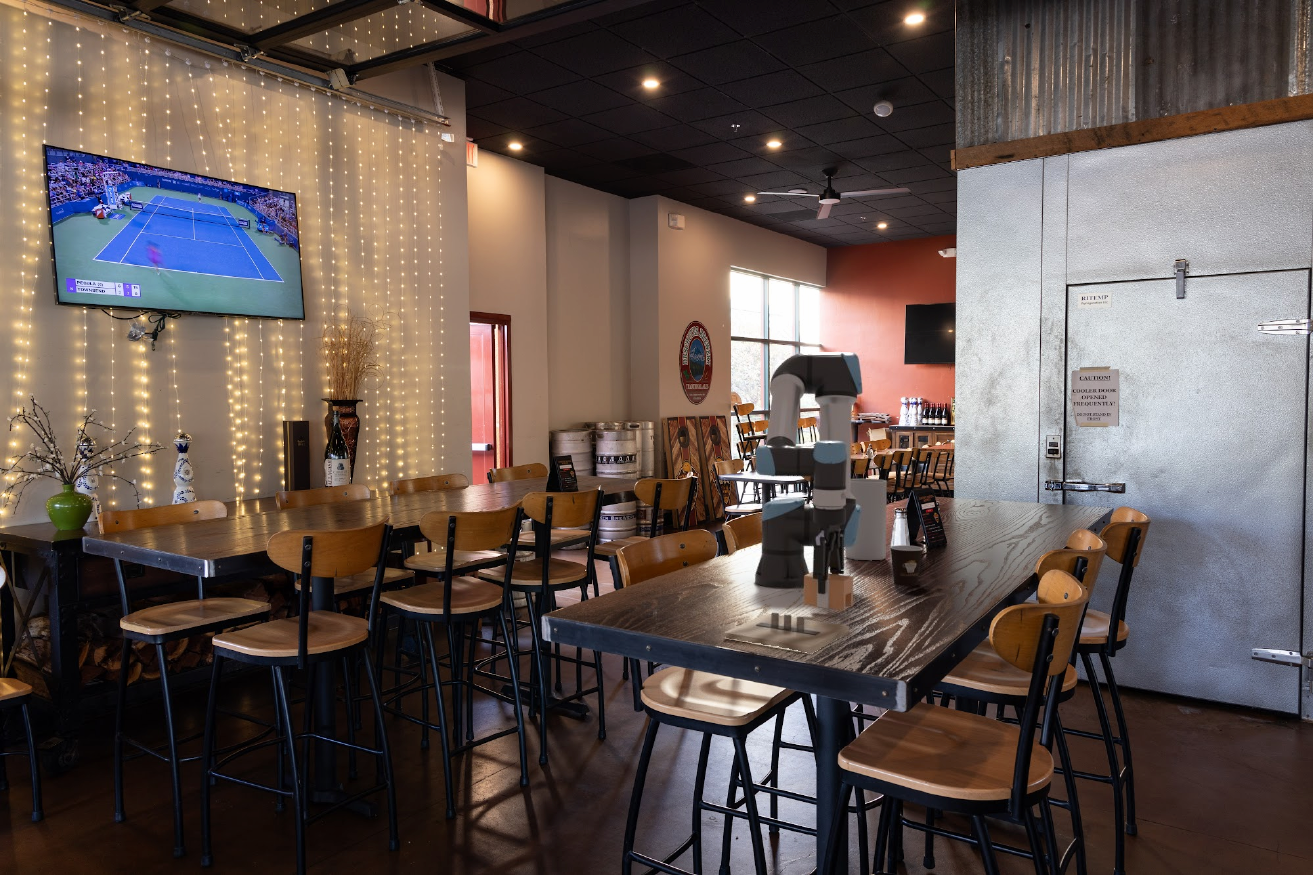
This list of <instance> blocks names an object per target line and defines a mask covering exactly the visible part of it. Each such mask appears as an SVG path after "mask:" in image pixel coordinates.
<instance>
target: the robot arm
mask: <svg viewBox="0 0 1313 875" xmlns="http://www.w3.org/2000/svg"><path fill="white" fill-rule="evenodd" d="M861 372H862V371H861V365H860V359H859V356H858V355H857V353H854V352H847V351H846V352H844V351H831V352H830V351H829V352H826V351H825V352H824V351H823V352H808V351H807V352H800V353H796V354H794V355H791V356H790V357H788V358H787V359H785V360H784V361H783V362H781V363H780V365H779V366H778V367H777V368H776V369H775V371H774V372H773V375H772V376H771V379H770V382H769V392H770V395H771V403H770V412H769V419H768V427H767V434H766V440H765V441H766V442H765V444H764V445H758V446H757V448H756V449H755V462H754V463H755V464H754V465H755V471H756V473H757V475H760V476H768V477H770V476H771V477H804V478H805V477H807V478H808V477H810V478H811V477H812V478H813V493H812V494H813V495H812V503H806V500H805V499H804V498H802V497H792V498H791V497H790V498H789V497H788V498H782V499H775V500H770V501H768V502H765V503H764V505H762V509H761V510H762V515H761V519H760V521H761V555H760V559H759V562H758V565H757V568H756V570H755V574H754V583H755V584H757V585H760V586H762V587H767V588H776V589H778V588H779V589H796V588H797V589H798V588H804V576H805V575H807V574H809V573H810V572H809V571H810V570H809V567H808V564H807V562H806V558H805V547H813V554H812V555H813V558H812V572H813V579H817V607H816V608H821V607H824V608H823V609H827V608H829V580H827V579H828V573H829V574H837V575H845V570H844V569H845V548H846V547H853V546H854V545H855V543H856V539H857V533H858V526H859V519H860V512H861V506H860V505H856V498H855V497H854V496H853V495H852V494H851V492H850V479H852V478H851V476H852V475H851V469H852V467H851V466H852V465H851V464H852V462H851V461H852V459H851V458H852V454H851V453H852V407H853V405H854V404H856V403H857V401H858V396H859V395H861V394H863V382H862V381H863V380H862V379H863V378H862V373H861ZM804 394H805V395H806V394H807V395H814V401H815V402H816V403H817V404H818V405H819V440H818V441H816V442H815V443H814V445H811V446H810V445H808V446H807V445H797V436H798V425H799V413H800V406H801V405H800V403H801V399H802V398H803V396H804Z"/></svg>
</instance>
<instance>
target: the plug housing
mask: <svg viewBox="0 0 1313 875" xmlns="http://www.w3.org/2000/svg"><path fill="white" fill-rule="evenodd" d="M827 580H829V608H826V609H829V610H833V611H834V610H835V611H841V612H845V611H846V607H850V608H852V607H853V606H854V576H850V575H845V574H839V575H837V574H832V573H830V572H828V579H827ZM803 605H804V606H809V607H815V608H818V607H817V579H813V571H811V572H809V574H807V575H805V576H804V587H803ZM820 608H822V609H825V608H824V607H820Z"/></svg>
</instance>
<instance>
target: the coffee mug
mask: <svg viewBox="0 0 1313 875" xmlns="http://www.w3.org/2000/svg"><path fill="white" fill-rule="evenodd" d="M889 549H890V556H891V558H890V559H891V567H892V578H893V584H894V585H896V586H901V587H916V586H918V585H919V579H920V575H921V574H922V573H924V572H925V571H927V570H929V568H931V566H932V565H933V564H934V563H935V560H936V558H935V555H934V554H933V553H932V552H929V551H926V552H923V549H924V548H922V547H920V546H918V545H917V546H915V545H908V544H907V545H903V544H900V545H898V544H897V545H891V546H890V548H889ZM926 555H930V556H931V557H932V561H931V562H930V564H928V565H927V566H926V567H924V568H923V569H922V570H921V566H922V565H921V564H922V559H923V558H924V557H925V556H926Z"/></svg>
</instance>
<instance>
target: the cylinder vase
mask: <svg viewBox="0 0 1313 875" xmlns="http://www.w3.org/2000/svg"><path fill="white" fill-rule="evenodd" d="M887 483H888V482H887V480H886V479H885V480H884V479H877V478H876V479H875V478H851V479H850V492H851V494H852V495H853V496H854V497H855V498H856V505H860V506H861V512H860V519H859V526H858V533H857V539H856V543H855V545H854V546H853V547H845V552H844V556H845V557H846V558H847V559H849V560H852V559H854V560H853V561H858V560H870V561H869V562H873V561H872V560H880V561H883V560H884V559H885V558H886V555H887V554H886V551H887V550H886V548H887V547H886V546H887V545H886V544H887V543H886V539H887V538H886V536H887V535H886V534H887V488H888V487H887Z"/></svg>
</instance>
